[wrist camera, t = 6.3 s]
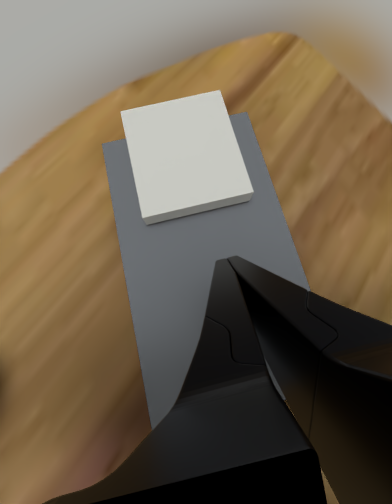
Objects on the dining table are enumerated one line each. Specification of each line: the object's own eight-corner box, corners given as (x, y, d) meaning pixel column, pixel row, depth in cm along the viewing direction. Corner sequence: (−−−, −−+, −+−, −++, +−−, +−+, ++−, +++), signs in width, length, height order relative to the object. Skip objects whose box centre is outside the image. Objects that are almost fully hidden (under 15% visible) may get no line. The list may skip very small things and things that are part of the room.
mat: (335, 379, 14) (343, 383, 13) (155, 428, 14) (152, 435, 13) (244, 120, 19) (246, 111, 18) (106, 150, 18) (101, 143, 17)
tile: (253, 192, 15) (219, 90, 17) (142, 218, 14) (120, 111, 16) (248, 202, 16) (218, 107, 18) (147, 226, 16) (127, 127, 18)
